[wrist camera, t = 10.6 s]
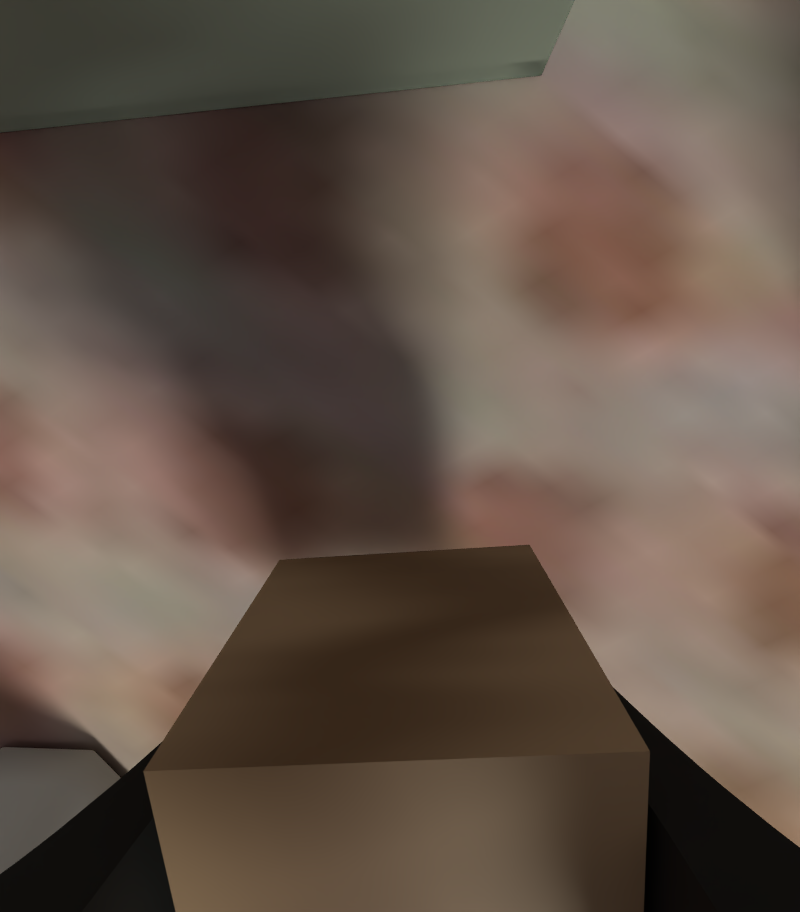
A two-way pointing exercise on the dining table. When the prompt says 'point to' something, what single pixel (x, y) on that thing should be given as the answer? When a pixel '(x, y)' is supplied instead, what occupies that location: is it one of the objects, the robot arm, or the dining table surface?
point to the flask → (44, 794)
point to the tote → (252, 52)
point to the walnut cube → (404, 749)
